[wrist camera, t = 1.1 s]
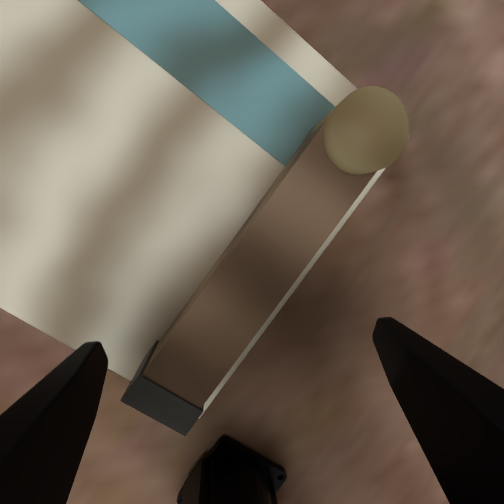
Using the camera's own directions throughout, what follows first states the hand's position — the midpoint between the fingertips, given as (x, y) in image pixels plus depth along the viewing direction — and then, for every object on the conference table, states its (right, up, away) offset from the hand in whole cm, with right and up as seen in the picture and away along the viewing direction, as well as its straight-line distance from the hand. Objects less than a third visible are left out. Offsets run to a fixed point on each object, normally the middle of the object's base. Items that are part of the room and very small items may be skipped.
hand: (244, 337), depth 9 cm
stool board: (-6, +7, +9) cm, 13 cm away
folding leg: (0, +3, +8) cm, 9 cm away
